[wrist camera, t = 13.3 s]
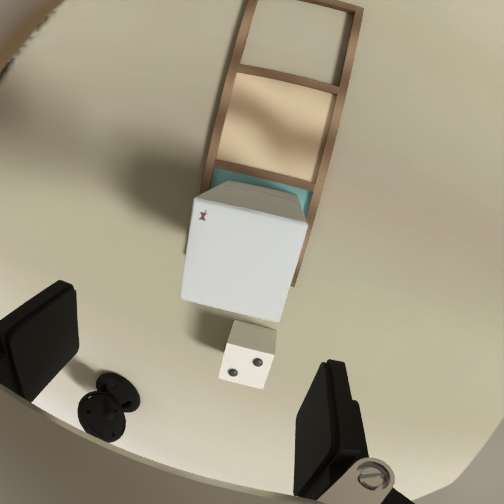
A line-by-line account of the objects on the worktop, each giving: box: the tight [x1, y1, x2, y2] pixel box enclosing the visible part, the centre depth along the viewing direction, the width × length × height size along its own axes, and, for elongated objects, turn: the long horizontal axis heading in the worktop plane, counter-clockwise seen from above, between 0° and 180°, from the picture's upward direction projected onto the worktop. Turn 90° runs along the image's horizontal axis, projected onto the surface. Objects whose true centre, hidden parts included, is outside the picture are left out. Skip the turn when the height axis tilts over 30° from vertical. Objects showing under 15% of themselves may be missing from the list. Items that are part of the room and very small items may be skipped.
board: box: [200, 0, 364, 287], centre depth 29 cm, size 31×12×1 cm, turn 167°
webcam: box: [78, 373, 140, 443], centre depth 38 cm, size 8×8×10 cm
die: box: [219, 320, 277, 389], centre depth 35 cm, size 5×5×5 cm
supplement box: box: [180, 180, 308, 323], centre depth 26 cm, size 7×7×13 cm
